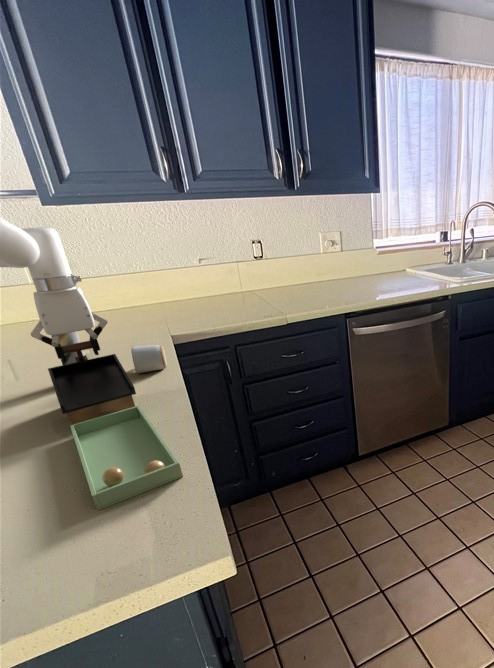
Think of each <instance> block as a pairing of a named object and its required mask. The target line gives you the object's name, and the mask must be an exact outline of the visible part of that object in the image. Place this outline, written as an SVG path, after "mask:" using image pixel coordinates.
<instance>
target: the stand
mask: <svg viewBox="0 0 494 668" xmlns="http://www.w3.org/2000/svg"><path fill="white" fill-rule="evenodd" d="M135 406H136V403H135V401H134V398H133V395H131V396H127V397H123V398H120V399H116V400H112V401H109V402H105V403H101V404H98V405H94V406H90V407H87V408H83V409H80V410H76V411H72V412H69V413H66V416H67V419H68V421H69V424H70V425H73V424H77V423H80V422H84V421H87V420H91V419H94V418H97V417H101V416H104V415H108V414H111V413H115V412H118V411H122V410H125V409H129V408H132V407H135Z"/></svg>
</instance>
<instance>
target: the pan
mask: <svg viewBox="0 0 494 668" xmlns="http://www.w3.org/2000/svg"><path fill="white" fill-rule="evenodd" d="M61 347H62V349H63V352H64V354H68V353H72V352H77V355H78V357H76V358H75V360H76V362H75V363H71V364H66V365H62V364H61V365H58V366H53V367H49V368H47V371H48V373H49V376H50V380H51V383H52V386H53V389H54V392H55V395H56V398H57V401H58V404H59V407H60V409H61V412H62V414H67V413H69V412H72V411H76V410H80V409H83V408H87V407H90V406H94V405H98V404H101V403H105V402H109V401H112V400H116V399H120V398H123V397H127V396H131V395H132V396H134V395H136V394H137V391H136V389H135V386H134V384H133V382H132V380H131V379H130V377H129V375H128V373H127V371H126V370H125V368H124V367H123V365H122V363H121V362H120V359H119V358H118V356H117V355H116V353H112V354H108V355H103V356H98V357H95V358H89V359H88V356H87V355H86V354H85V356H83V355H82V352H81V351H82V350H84V351H87V350H91V349H92V350H93V347H92V344H91V341H90V340H87V341H86V340H85V341H81V342H80V343H75V344H70V345H65V346H61Z"/></svg>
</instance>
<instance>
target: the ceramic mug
mask: <svg viewBox="0 0 494 668" xmlns="http://www.w3.org/2000/svg"><path fill="white" fill-rule="evenodd" d="M131 358H132V363H133V367H134V370H135V372H136V374H142V373H143V374H144V373H149V372H155V371H161V370H164V369H166V368H167V367H168V362H167V356H166V351H165V348H164V346H163V345H161V344H152V345H139V346H132V347H131Z"/></svg>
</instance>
